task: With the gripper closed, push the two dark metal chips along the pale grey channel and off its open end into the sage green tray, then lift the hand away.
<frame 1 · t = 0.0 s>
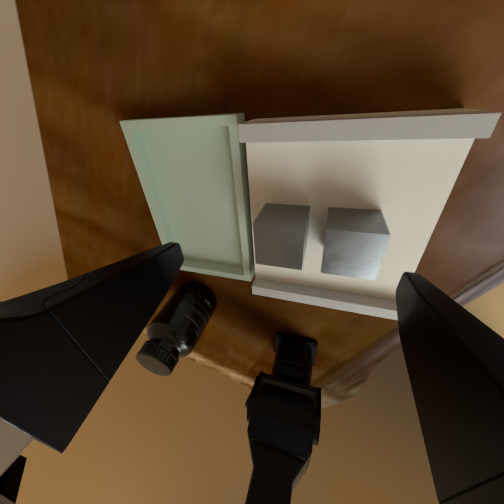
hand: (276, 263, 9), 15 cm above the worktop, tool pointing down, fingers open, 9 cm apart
channel: (332, 214, 22), on the worktop
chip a: (349, 229, 19), point 3 cm above the worktop, touching channel
supplement bottle: (199, 294, 37), on the worktop
chip b: (286, 224, 21), point 3 cm above the worktop, touching channel
tray: (202, 205, 26), on the worktop
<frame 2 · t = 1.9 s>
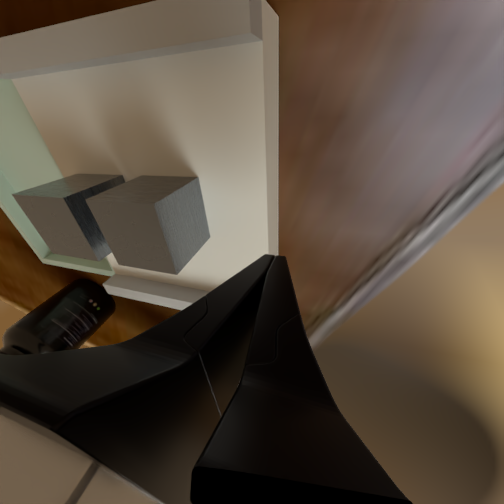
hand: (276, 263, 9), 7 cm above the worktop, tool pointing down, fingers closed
channel: (182, 190, 17), on the worktop
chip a: (177, 207, 14), point 3 cm above the worktop, touching channel
supplement bottle: (97, 294, 32), on the worktop
chip b: (111, 202, 16), point 3 cm above the worktop, touching channel
tray: (51, 184, 21), on the worktop
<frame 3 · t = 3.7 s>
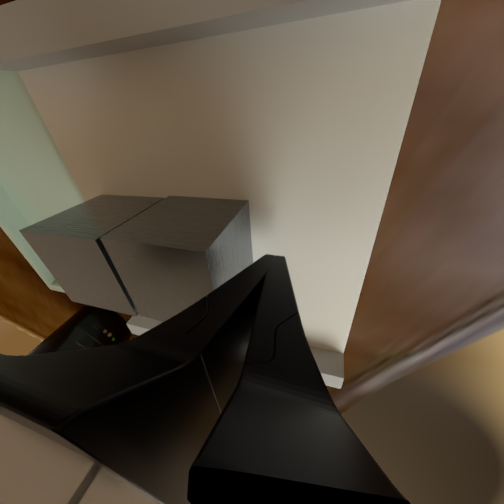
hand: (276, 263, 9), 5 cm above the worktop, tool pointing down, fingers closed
channel: (230, 212, 14), on the worktop
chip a: (213, 236, 11), point 3 cm above the worktop, touching channel, gripper
supplement bottle: (111, 320, 28), on the worktop
chip b: (144, 230, 13), point 3 cm above the worktop, touching channel
tray: (62, 201, 18), on the worktop
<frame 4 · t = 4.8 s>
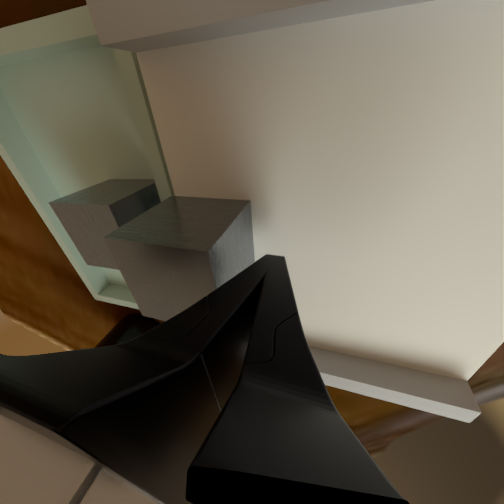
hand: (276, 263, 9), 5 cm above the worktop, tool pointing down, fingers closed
channel: (335, 219, 12), on the worktop
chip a: (215, 236, 11), point 3 cm above the worktop, touching channel, gripper
supplement bottle: (151, 330, 26), on the worktop
chip b: (151, 224, 13), point 2 cm above the worktop, tilted 90°, touching tray
tray: (123, 205, 16), on the worktop
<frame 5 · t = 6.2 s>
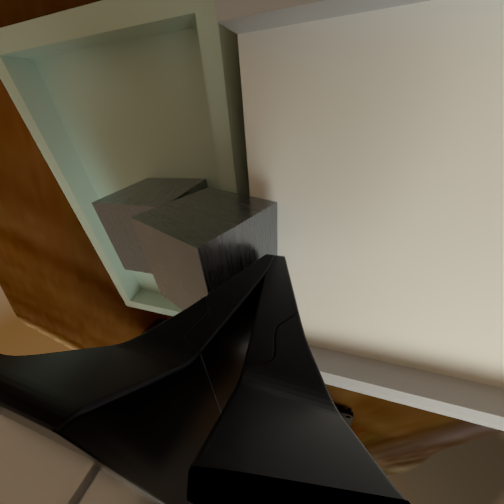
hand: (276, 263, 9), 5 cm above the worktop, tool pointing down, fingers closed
channel: (415, 224, 11), on the worktop
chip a: (243, 233, 11), point 3 cm above the worktop, tilted 22°, touching chip b, gripper
chip b: (196, 227, 12), point 3 cm above the worktop, tilted 90°, touching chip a
tray: (167, 208, 15), on the worktop
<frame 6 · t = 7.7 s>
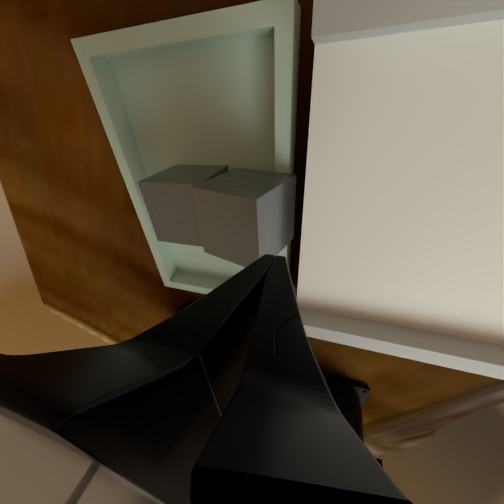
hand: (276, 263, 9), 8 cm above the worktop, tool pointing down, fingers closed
channel: (440, 205, 13), on the worktop
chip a: (265, 203, 14), point 2 cm above the worktop, tilted 16°, touching chip b, tray
chip b: (219, 205, 14), point 3 cm above the worktop, tilted 90°, touching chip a, tray
tray: (213, 193, 17), on the worktop
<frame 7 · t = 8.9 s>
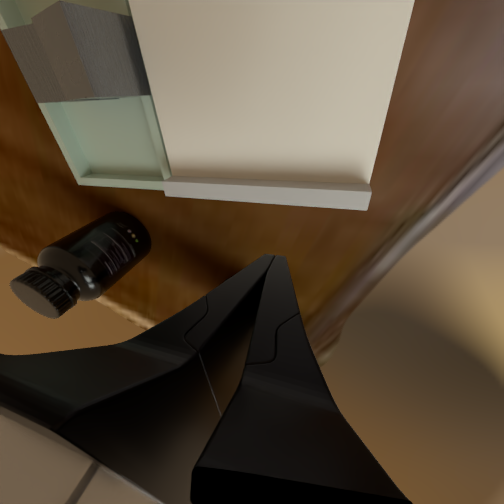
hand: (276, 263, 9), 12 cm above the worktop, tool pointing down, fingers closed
channel: (267, 54, 15), on the worktop
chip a: (125, 62, 16), point 2 cm above the worktop, tilted 16°, touching chip b, tray
supplement bottle: (131, 233, 29), on the worktop
chip b: (87, 66, 16), point 3 cm above the worktop, tilted 90°, touching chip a, tray
tray: (99, 74, 19), on the worktop
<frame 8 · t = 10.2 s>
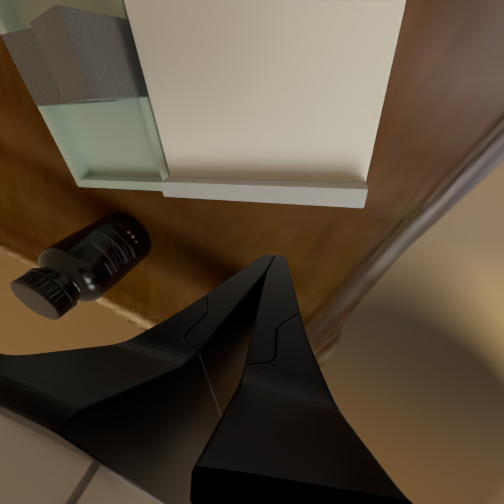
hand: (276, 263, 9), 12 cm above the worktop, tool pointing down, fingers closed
channel: (262, 55, 15), on the worktop
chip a: (123, 64, 16), point 2 cm above the worktop, tilted 16°, touching chip b, tray
supplement bottle: (131, 234, 29), on the worktop
chip b: (85, 69, 16), point 3 cm above the worktop, tilted 90°, touching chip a, tray
tray: (98, 77, 19), on the worktop
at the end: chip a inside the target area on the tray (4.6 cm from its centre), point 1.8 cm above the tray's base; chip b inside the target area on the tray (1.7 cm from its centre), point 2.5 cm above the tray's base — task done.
